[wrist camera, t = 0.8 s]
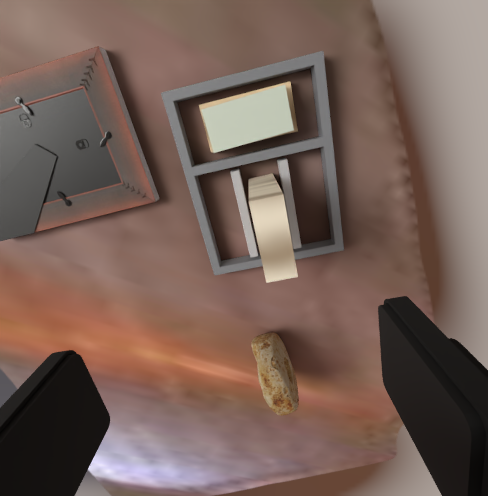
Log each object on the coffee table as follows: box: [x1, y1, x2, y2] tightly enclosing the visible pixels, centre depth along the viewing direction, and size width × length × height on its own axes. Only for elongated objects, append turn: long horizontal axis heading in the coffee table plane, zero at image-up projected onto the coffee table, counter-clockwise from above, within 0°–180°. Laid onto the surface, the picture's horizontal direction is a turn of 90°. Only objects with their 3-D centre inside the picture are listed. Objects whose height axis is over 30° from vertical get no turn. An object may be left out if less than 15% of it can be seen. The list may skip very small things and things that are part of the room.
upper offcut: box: [201, 85, 294, 153], centre depth 32 cm, size 4×9×2 cm, turn 105°
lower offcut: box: [199, 82, 298, 152], centre depth 33 cm, size 5×10×2 cm, turn 103°
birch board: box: [249, 173, 298, 283], centre depth 32 cm, size 8×3×12 cm, turn 13°
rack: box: [161, 51, 344, 275], centre depth 35 cm, size 22×17×2 cm
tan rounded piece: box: [252, 332, 299, 415], centre depth 42 cm, size 10×4×10 cm, turn 25°
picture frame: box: [0, 46, 160, 241], centre depth 35 cm, size 16×2×22 cm
